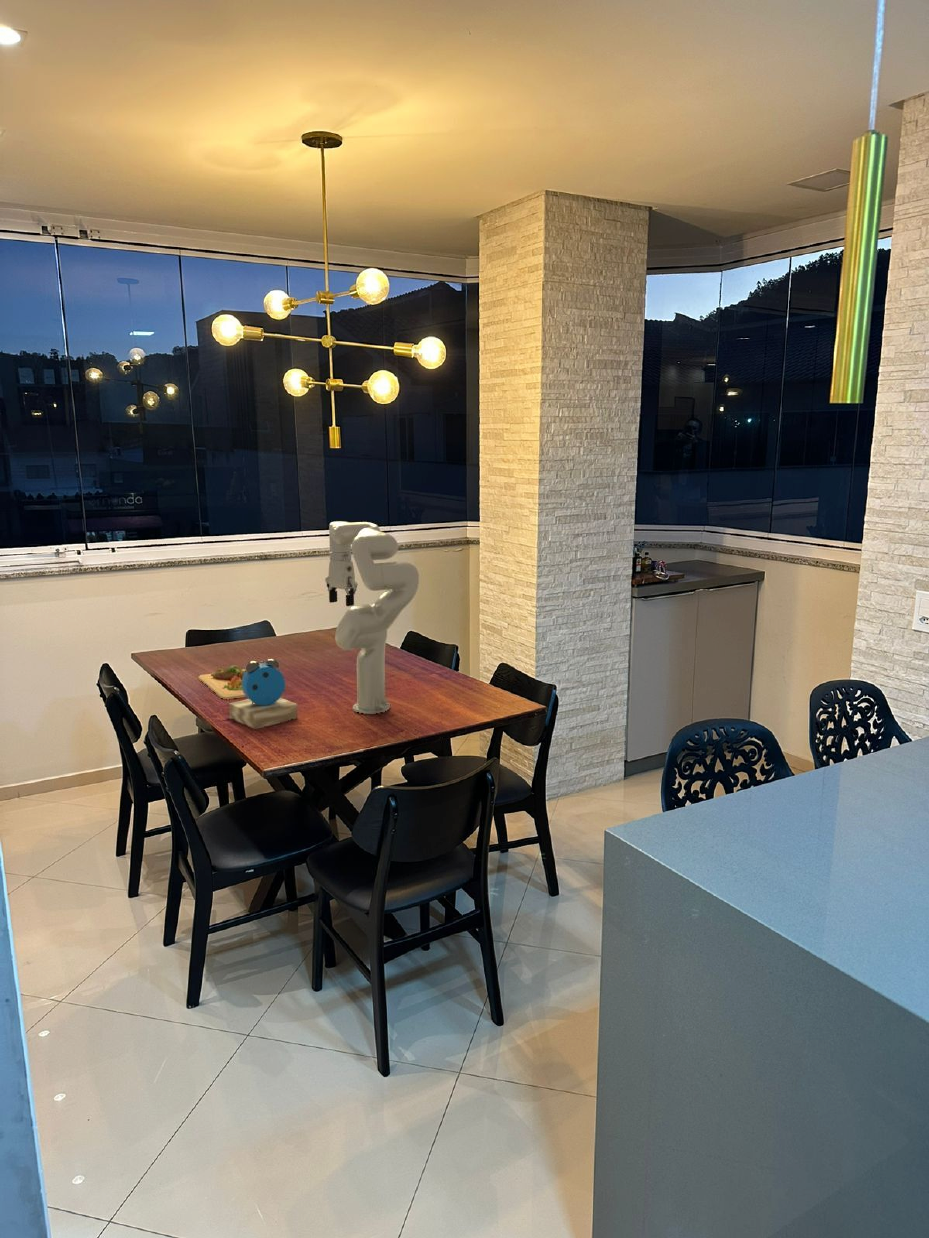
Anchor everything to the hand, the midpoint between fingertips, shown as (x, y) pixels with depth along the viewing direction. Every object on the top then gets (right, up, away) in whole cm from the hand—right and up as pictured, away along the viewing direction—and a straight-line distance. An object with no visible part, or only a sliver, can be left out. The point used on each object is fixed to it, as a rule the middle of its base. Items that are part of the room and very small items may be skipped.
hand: (341, 604), depth 306 cm
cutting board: (-41, -31, +18) cm, 54 cm away
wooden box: (-23, -38, -22) cm, 50 cm away
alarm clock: (-22, -34, -24) cm, 47 cm away
